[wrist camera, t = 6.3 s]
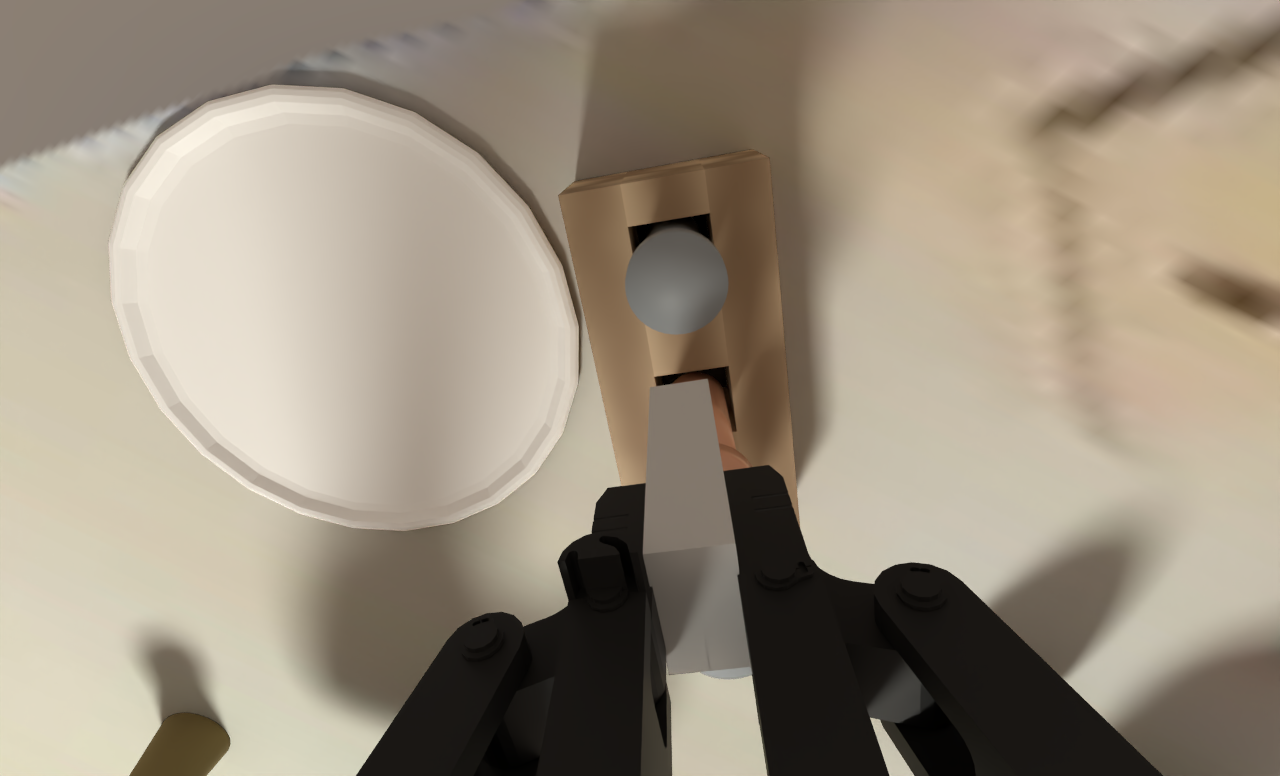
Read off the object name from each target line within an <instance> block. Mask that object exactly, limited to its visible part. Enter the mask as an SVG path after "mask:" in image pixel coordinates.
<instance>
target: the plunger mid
mask: <svg viewBox="0 0 1280 776" xmlns="http://www.w3.org/2000/svg"><path fill="white" fill-rule="evenodd" d="M702 379H708V383H709V389H710V395H711V401H712V407H713V413H714V419H715V425H716V431H717V437H718V443H719V449H720V455H721V461H722V466H723V471H727V470H734V469H742V468H749V467H752V465H751V463H750V462H749V461H748V459H747V458H746V457H745V456H744V455H743V454H741V453H740V452H739V451H737V450H736V447H735V442H734V438H733V433H732V428H731V424H730V419H729V414H728V409H727V405H726V400H725V395H724V391H723V388H722V386H721V384H720V383H719V382H718V381H717V380H716V379H715V378H714V377H712V376H711V375H708V374H706V373H701V372H691V373H687V374H684V375H682V376H680V377H679V378H677V379H676V380H675V381H674V382H673V383H672V384H675V383H682V382H689V381H695V380H702Z"/></svg>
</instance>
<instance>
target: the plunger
mask: <svg viewBox="0 0 1280 776" xmlns="http://www.w3.org/2000/svg"><path fill="white" fill-rule="evenodd" d="M625 291H626V296H627V300H628V303H629V305H630V307H631V309H632V311H633V312H634V314H635V315H636V316H637V318H638V319H639V320H640V321H641V322H643V323H644V324H645V325H646V326H648V327H650V328H651V329H654V330H656V331H658V332H662V333H665V334H675V335H678V334H686V333H691V332H694V331H696V330H698V329H701V328H702V327H704V326H706V325H707V324H708V323H710V322H711V321H712V320H713V319H714V318H715V317H716V316H717V315H718V313H719V312H720V310H721V309H722V307H723V305H724V303H725V300H726V297H727V293H728V274H727V270H726V267H725V264H724V261H723V259H722V257H721V254H720V252H719V251H718V249H717V248H716V247H715V245H714V244H713V243H712V242H711V241H710V240H708V239H707V238H706V237H704V236H703V235H701V232H700V229H699V227H698V225H697V223H696V222H695V220H694V219H693V218H692V217H684V218H678V219H672V220H666V221H660V222H654V223H650V224H649V226H648V228H647V231H646V236H645V240H644V241H643V242H642V243H641V244H640V245H639V246H638V247H637V248H636V250H635V251H634V253H633V255H632V257H631V259H630V261H629V264H628V268H627V273H626V279H625Z"/></svg>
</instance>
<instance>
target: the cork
mask: <svg viewBox="0 0 1280 776" xmlns="http://www.w3.org/2000/svg"><path fill="white" fill-rule="evenodd" d="M229 747H230V738H229V736H228V734H227V733H226V731H225V730H224V729H223V728H222V727H221V726H220V725H219V724H217V723H216V722H214V721H212V720H211V719H209V718H206V717H204V716H201V715H198V714H192V713H177V714H174V715H171V716H169V717H168V718H167V719H166V720H165V721H164V722H163V723H162V725H161V727H160V728H159V730H158V731H157V733H156V734H155V736H154V738H153V739H152V741H151V742H150V744H149V746H148V747H147V749H146V750H145V752H144V753H143V755H142V757H141V758H140V760H139V761H138V763H137V765H136V766H135V768H134V769H133V771H132V772H131V774H130V776H207V774H208V773H209V772H210V771H211V770H212V769H213V767H214V766H215V765H216V764H217V763H218V762H219V760H220V759H221V758H222V757H223V756H224V754H225V753H226V752H227V751H228V749H229Z"/></svg>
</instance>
